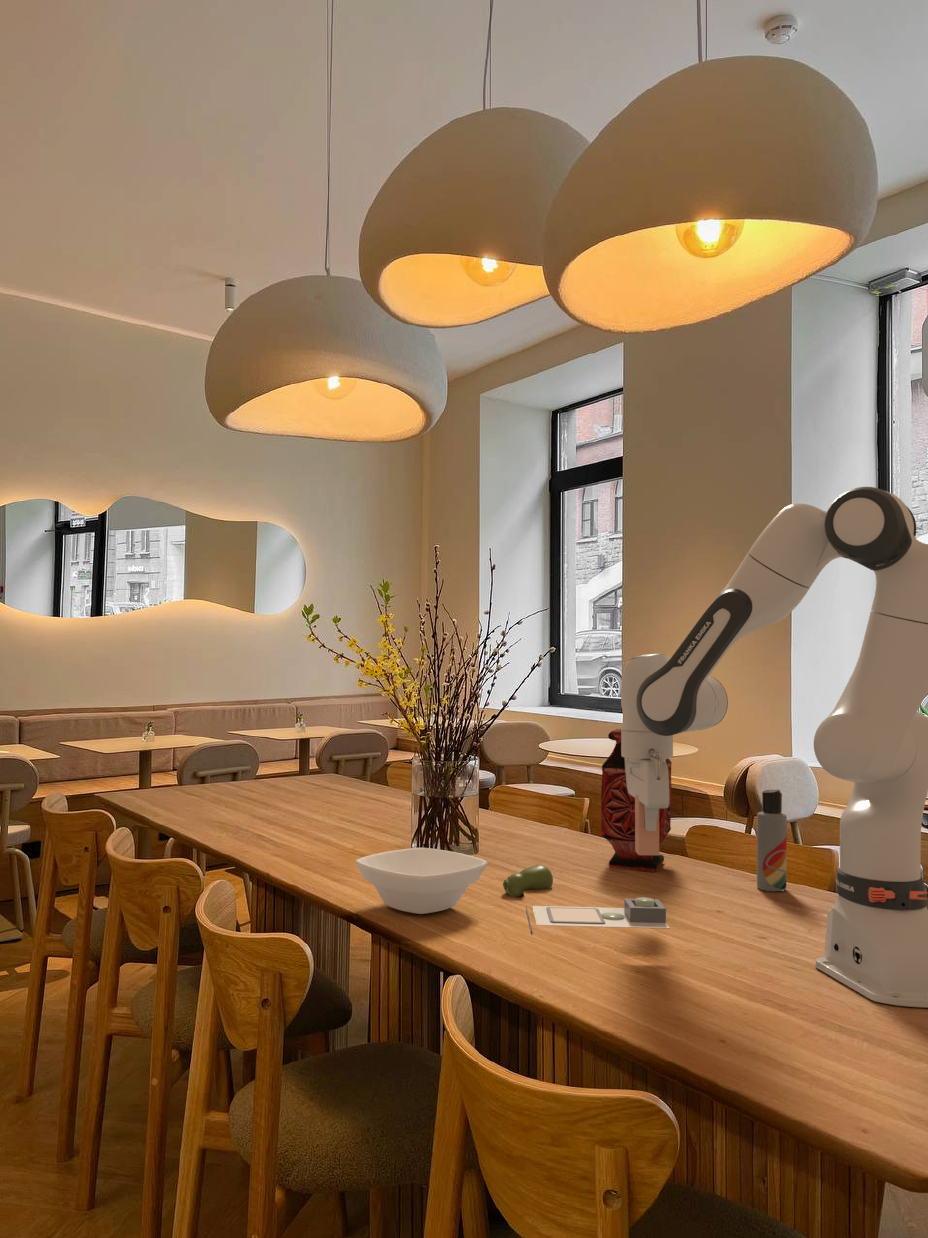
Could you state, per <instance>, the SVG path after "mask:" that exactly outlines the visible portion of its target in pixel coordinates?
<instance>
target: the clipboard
mask: <svg viewBox="0 0 928 1238" xmlns="http://www.w3.org/2000/svg"><path fill="white" fill-rule="evenodd" d="M531 907H532V911H533V915H534V919H535V920H534V921H535V924H536V926H552V927H556V926H557V927H559V926H560V927H589V928H590V927H593V928H595V927H596V928H600V927H601V928H633V929H635V928H640V929H670V926H668V924H667V922H666V923H644V922H630V921H629V919H628V918H627V916H626V915H625V913H624V907H602V906H601V907H599V906H596V907H595V906H563V905H562V906H559V905H558V906H557V905H531ZM525 912H526V916H527V922H528V926H529V930H530V934H531V935H533V934H534V933H533V929H532V925H531V921H530V915H529V910H528V907H527V905H525Z"/></svg>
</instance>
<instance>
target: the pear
mask: <svg viewBox="0 0 928 1238" xmlns="http://www.w3.org/2000/svg"><path fill="white" fill-rule="evenodd" d="M553 877H554V876H553V874H552V872H551V870H550V869H549V868H548V867H546V866H544V865H539V864H538V865H532V866H529V867H527V868H524V869H522V870H521V871H519V872H518V873H512V874H510V875H509V876H508V877H507V879H505V880H503V882H502V886H503V887H502V888H503V889H504V891H505V893H507V894H508V895H509V896H510V897H512V898H514V897H515V898H516V897H521V896H523V895H524V891H530V890H536V891H537V890H538V891H540V890H542V891H543V890H548V889H551V888H552V887H553V883H554V878H553Z"/></svg>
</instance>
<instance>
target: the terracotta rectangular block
mask: <svg viewBox="0 0 928 1238" xmlns="http://www.w3.org/2000/svg"><path fill="white" fill-rule="evenodd" d="M644 819H645V809H644V804H643V803H641V802H640V801H639V796H638V795H635V852H636V853H637V854H638V855H659V854H660V847H659V808H658V815H657V820H656V830H655V831H647V830H646V829H645V828H644Z"/></svg>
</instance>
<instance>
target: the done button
mask: <svg viewBox="0 0 928 1238" xmlns="http://www.w3.org/2000/svg"><path fill="white" fill-rule="evenodd" d="M634 899H635V906H642V907H654V899H653V898H650V897H636V898H634Z"/></svg>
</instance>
